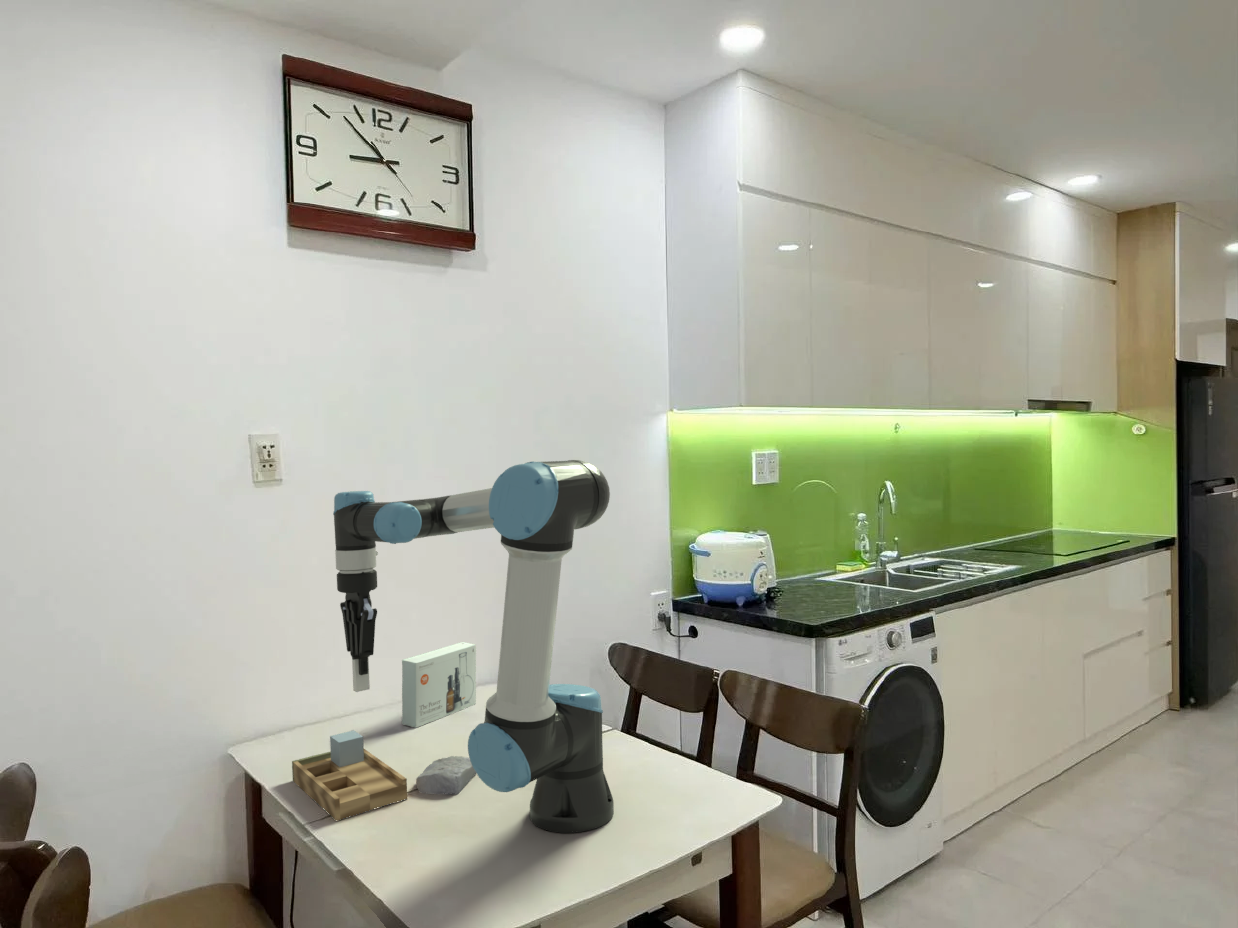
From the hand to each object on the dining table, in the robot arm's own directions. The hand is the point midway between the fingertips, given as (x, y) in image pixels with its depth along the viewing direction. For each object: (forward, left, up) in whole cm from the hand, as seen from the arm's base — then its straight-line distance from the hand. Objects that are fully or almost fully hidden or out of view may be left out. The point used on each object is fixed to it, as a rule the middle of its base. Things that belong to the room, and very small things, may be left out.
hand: (361, 689), depth 165 cm
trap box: (+1, +3, -20) cm, 20 cm away
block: (+9, 0, -17) cm, 19 cm away
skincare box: (+30, -32, -20) cm, 48 cm away
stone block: (-8, -13, -20) cm, 25 cm away
